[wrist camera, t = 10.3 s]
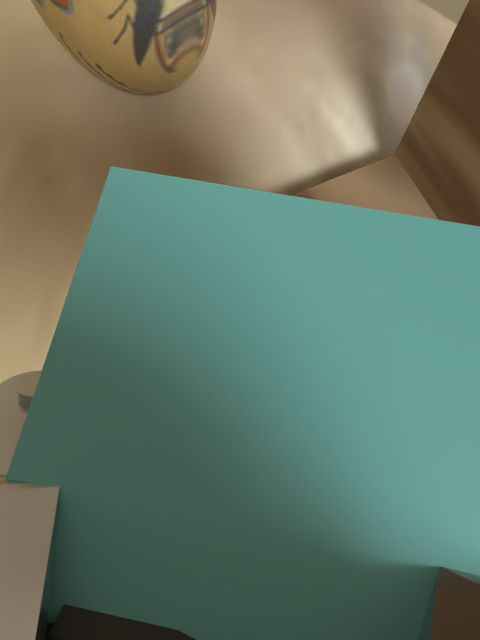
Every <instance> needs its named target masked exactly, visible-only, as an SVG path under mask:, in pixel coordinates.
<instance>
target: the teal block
mask: <svg viewBox="0 0 480 640" xmlns="http://www.w3.org/2000/svg"><path fill="white" fill-rule="evenodd" d="M5 480H15V481H26V482H35V483H41V484H47V485H53V486H59V487H60V490H59V508H58V526H57V544H56V562H55V576H54V581H53V587H52V593H51V600H50V607H49V614H48V621H47V623H55V621H56V619H57V617H58V615H59V613H60V611H61V609H62V607H63V605H64V604H66V605H70V606H75V607H79V608H84V609H88V610H92V611H97V612H101V613H106V614H110V615H114V616H119V617H123V618H128V619H132V620H136V621H141V622H145V623H150V624H154V625H159V626H163V627H167V628H172V629H176V630H179V631H181V632H183V633H185V634H186V635H188V636H190V637H192V638H194V639H196V640H417V639H418V636H419V633H420V630H421V626H422V623H423V620H424V616H425V613H426V610H427V606H428V603H429V600H430V596H431V593H432V590H433V586H434V583H435V580H436V576H437V573H438V570H439V567H445V568H449V569H453V570H457V571H461V572H465V573H469V574H472V575H475V576H478V577H480V227H479V226H473V225H467V224H461V223H455V222H449V221H443V220H437V219H431V218H424V217H418V216H412V215H406V214H400V213H394V212H388V211H382V210H376V209H369V208H363V207H357V206H351V205H345V204H339V203H333V202H327V201H321V200H315V199H308V198H302V197H296V196H290V195H284V194H278V193H272V192H266V191H260V190H254V189H247V188H241V187H235V186H229V185H223V184H217V183H211V182H205V181H199V180H193V179H186V178H180V177H174V176H168V175H162V174H156V173H150V172H144V171H138V170H132V169H125V168H119V167H113V166H111V168H110V171H109V174H108V176H107V179H106V182H105V185H104V188H103V191H102V194H101V197H100V200H99V203H98V206H97V209H96V212H95V215H94V218H93V221H92V224H91V227H90V230H89V233H88V236H87V239H86V242H85V245H84V248H83V250H82V253H81V256H80V259H79V262H78V265H77V268H76V271H75V274H74V277H73V280H72V283H71V286H70V289H69V292H68V295H67V298H66V301H65V304H64V307H63V310H62V313H61V316H60V319H59V322H58V324H57V327H56V330H55V333H54V336H53V339H52V342H51V345H50V348H49V351H48V354H47V357H46V360H45V363H44V366H43V369H42V372H41V375H40V378H39V381H38V384H37V387H36V390H35V393H34V396H33V399H32V401H31V404H30V407H29V410H28V413H27V416H26V419H25V422H24V425H23V428H22V431H21V434H20V437H19V440H18V443H17V446H16V449H15V452H14V455H13V458H12V461H11V464H10V467H9V470H8V473H7V475H6V478H5Z"/></svg>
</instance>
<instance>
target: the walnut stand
mask: <svg viewBox="0 0 480 640" xmlns="http://www.w3.org/2000/svg"><path fill="white" fill-rule="evenodd" d="M291 196H296V197H302V198H308V199H315V200H321V201H327V202H333V203H339V204H345V205H351V206H357V207H363V208H369V209H376V210H382V211H388V212H394V213H400V214H406V215H412V216H418V217H424V218H431V219H437V220H443V221H449V222H455V223H461V224H467V225H473V226H479V227H480V0H469V2H468V4H467V6H466V8H465V10H464V12H463V14H462V17H461V18H460V20H459V23H458V25H457V27H456V29H455V31H454V33H453V35H452V37H451V39H450V41H449V43H448V45H447V47H446V49H445V51H444V53H443V56H442V58H441V60H440V62H439V64H438V66H437V68H436V70H435V72H434V74H433V76H432V78H431V80H430V82H429V84H428V86H427V88H426V91H425V93H424V95H423V97H422V99H421V101H420V103H419V105H418V107H417V109H416V111H415V113H414V115H413V117H412V119H411V121H410V123H409V126H408V128H407V130H406V132H405V134H404V136H403V138H402V140H401V142H400V144H399V146H398V148H397V150H396V152H395V154H394V155H391V156H389V157H386V158H384V159H381V160H379V161H376V162H374V163H371V164H369V165H366V166H364V167H361V168H359V169H356V170H354V171H351V172H349V173H346V174H344V175H341V176H339V177H336V178H334V179H331V180H329V181H326V182H324V183H321V184H319V185H316V186H313V187H311V188H308V189H306V190H303V191H301V192H298V193H296V194H293V195H291Z"/></svg>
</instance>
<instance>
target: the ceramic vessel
mask: <svg viewBox="0 0 480 640" xmlns="http://www.w3.org/2000/svg"><path fill="white" fill-rule="evenodd" d="M31 1H32V3H33V5H34V6H35V8H36V10H37V11H38V13H39V14H40V16H41V17H42V19H43V20H44V22H45V23H46V25H47V26H48V28H49V29H50V30H51V32H52V33H53V34H54V36H55V37H56V38H57V39H58V40H59V42H60V43H61V44H62V45H63V46H64V47H65V49H66V50H67V51H68V52H69V53H70V54H71V55H72V56H73V57H74V58H75V59H76V60H77V61H78V62H79V63H80V64H82V65H83V66H84V67H85V68H86V69H88V70H89V71H90V72H91V73H93V74H94V75H96V76H97V77H98V78H100V79H102V80H103V81H105V82H107V83H108V84H110V85H112V86H114V87H117V88H119V89H122V90H125V91H128V92H131V93H136V94H146V95H148V94H158V93H163V92H166V91H169V90H171V89H173V88H175V87H177V86H178V85H180V84H181V83H182V82H184V81H185V80H186V79H187V78H188V77H189V76H190V75H191V74H192V73H193V71H194V70H195V69H196V67H197V66H198V64H199V63H200V61H201V59H202V58H203V56H204V54H205V51H206V49H207V47H208V44H209V41H210V38H211V34H212V31H213V26H214V21H215V16H216V8H217V0H31Z"/></svg>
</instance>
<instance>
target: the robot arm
mask: <svg viewBox="0 0 480 640" xmlns="http://www.w3.org/2000/svg"><path fill="white" fill-rule="evenodd" d="M41 372H42V371H34V372H28V373H23V374H20V375H17V376H14V377H12V378H9V379H7V380H6V381H4V382H2V383H1V384H0V640H196V639H194V638H192V637H190V636H188V635H186V634H185V633H183V632H181V631H179V630H176V629H172V628H167V627H163V626H159V625H154V624H150V623H145V622H141V621H136V620H132V619H128V618H123V617H119V616H114V615H110V614H106V613H101V612H97V611H92V610H88V609H84V608H79V607H75V606H70V605H66V604H64V605H63V607H62V609H61V611H60V613H59V615H58V617H57V619H56V621H55V623H47V621H48V614H49V607H50V600H51V593H52V587H53V581H54V576H55V562H56V544H57V526H58V508H59V490H60V487H59V486H53V485H47V484H41V483H35V482H26V481H15V480H5V478H6V475H7V473H8V470H9V467H10V464H11V461H12V458H13V455H14V452H15V449H16V446H17V443H18V440H19V437H20V434H21V431H22V428H23V425H24V422H25V419H26V416H27V413H28V410H29V407H30V404H31V401H32V399H33V396H34V393H35V390H36V387H37V384H38V381H39V378H40V375H41ZM417 640H480V577H478V576H475V575H472V574H469V573H465V572H461V571H457V570H453V569H449V568H445V567H439V570H438V573H437V576H436V580H435V583H434V586H433V590H432V593H431V596H430V600H429V603H428V606H427V610H426V613H425V616H424V620H423V623H422V626H421V630H420V633H419V636H418V639H417Z"/></svg>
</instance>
